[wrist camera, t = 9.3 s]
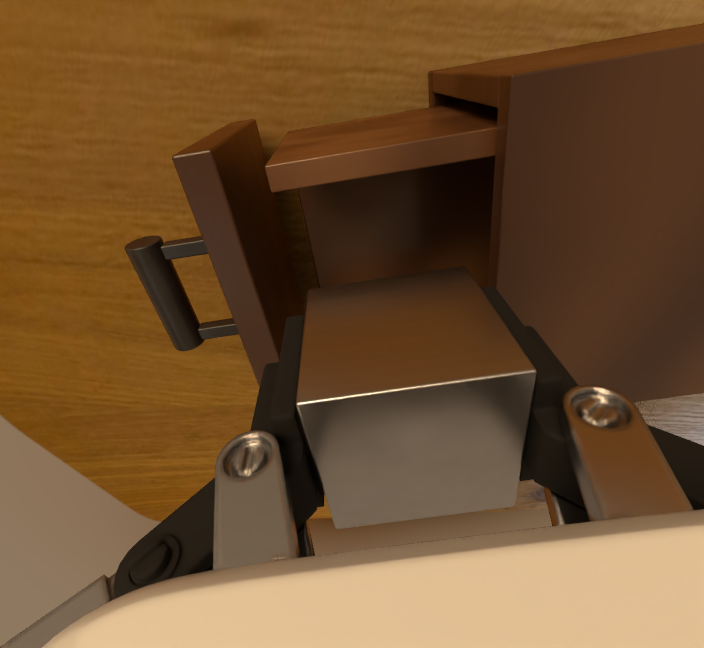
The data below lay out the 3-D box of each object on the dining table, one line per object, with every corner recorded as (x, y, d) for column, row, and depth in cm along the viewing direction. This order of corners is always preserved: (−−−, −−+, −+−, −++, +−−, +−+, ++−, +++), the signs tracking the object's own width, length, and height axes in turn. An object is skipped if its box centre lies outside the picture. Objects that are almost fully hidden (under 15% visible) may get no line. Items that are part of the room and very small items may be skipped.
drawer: (222, 338, 24) (182, 439, 17) (139, 138, 18) (27, 180, 11) (509, 295, 23) (579, 384, 17) (530, 70, 17) (657, 73, 10)
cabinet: (434, 306, 24) (485, 423, 16) (428, 71, 17) (511, 75, 9) (670, 271, 24) (841, 374, 16) (760, 13, 17) (1151, -36, 9)
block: (333, 401, 13) (335, 530, 9) (306, 289, 11) (294, 404, 7) (462, 382, 13) (515, 507, 9) (465, 264, 10) (538, 370, 7)
